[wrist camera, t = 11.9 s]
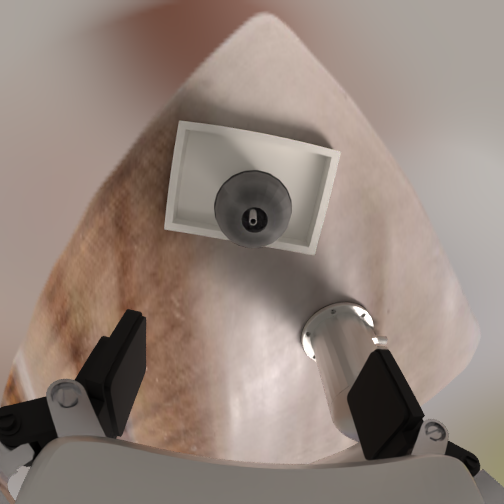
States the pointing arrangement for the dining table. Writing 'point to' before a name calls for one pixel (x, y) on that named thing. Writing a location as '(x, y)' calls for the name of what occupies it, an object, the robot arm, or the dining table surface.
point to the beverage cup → (253, 208)
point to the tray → (243, 159)
